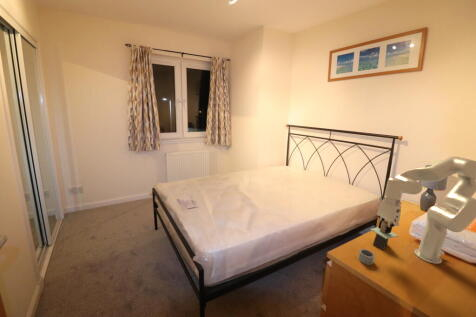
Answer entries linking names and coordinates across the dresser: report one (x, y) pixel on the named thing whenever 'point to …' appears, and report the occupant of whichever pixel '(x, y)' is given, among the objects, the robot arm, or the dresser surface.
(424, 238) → the robot arm
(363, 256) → the cup
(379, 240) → the phone stand
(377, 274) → the dresser surface
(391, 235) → the lid
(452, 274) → the dresser surface
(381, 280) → the dresser surface
